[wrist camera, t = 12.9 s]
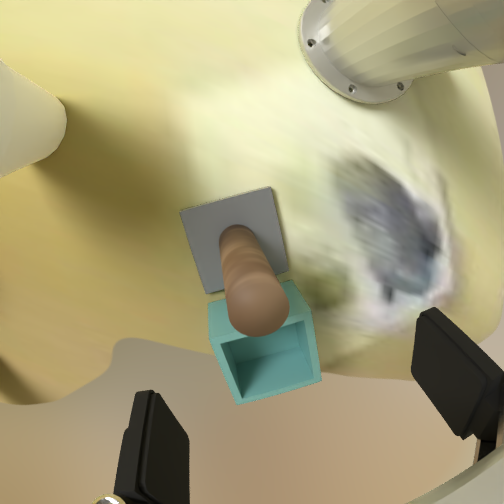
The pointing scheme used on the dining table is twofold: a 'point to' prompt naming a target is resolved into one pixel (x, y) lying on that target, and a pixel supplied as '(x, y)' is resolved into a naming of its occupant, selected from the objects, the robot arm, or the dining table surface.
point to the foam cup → (27, 121)
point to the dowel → (250, 284)
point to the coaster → (224, 215)
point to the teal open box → (266, 352)
